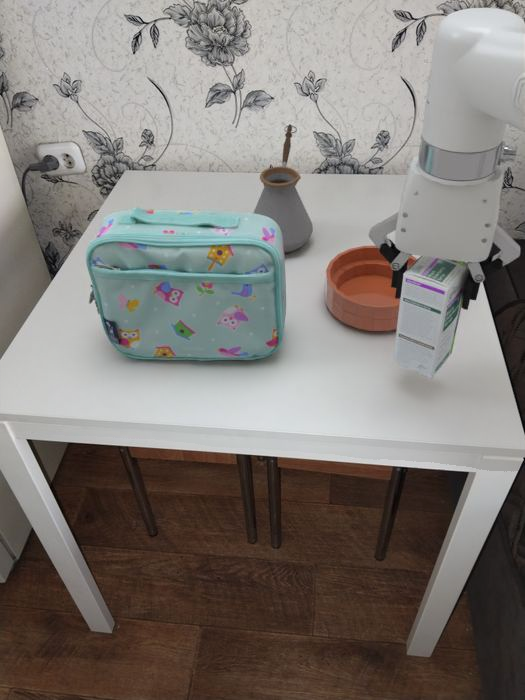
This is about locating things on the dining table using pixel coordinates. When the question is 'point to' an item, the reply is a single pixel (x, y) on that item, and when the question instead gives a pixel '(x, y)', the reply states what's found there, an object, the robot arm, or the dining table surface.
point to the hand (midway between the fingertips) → (432, 296)
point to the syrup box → (429, 313)
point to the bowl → (362, 289)
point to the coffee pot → (285, 201)
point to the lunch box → (189, 284)
